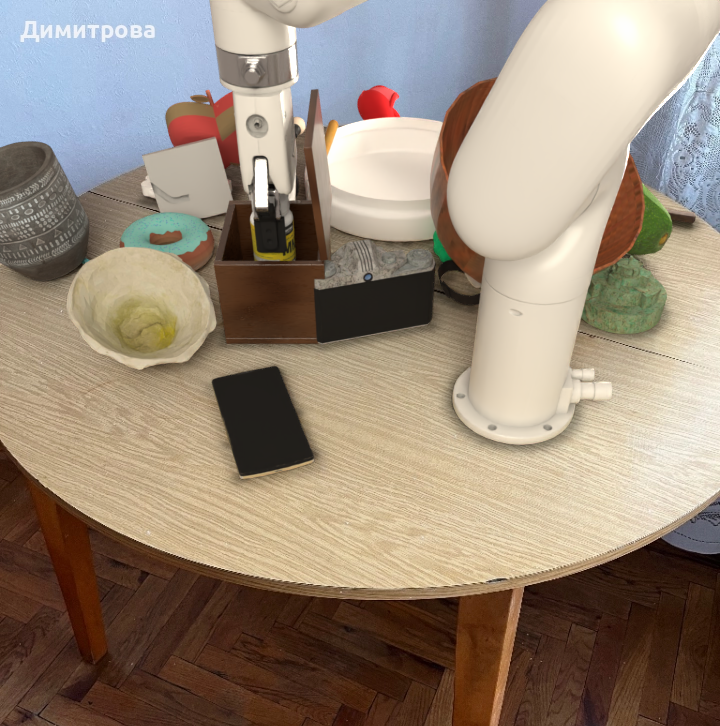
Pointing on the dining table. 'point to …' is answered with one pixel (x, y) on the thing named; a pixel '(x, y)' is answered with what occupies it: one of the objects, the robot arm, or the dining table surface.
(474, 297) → the watch
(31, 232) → the planter
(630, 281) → the decorative artifact
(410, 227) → the plate
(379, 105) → the cap
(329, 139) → the fork
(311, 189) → the lid
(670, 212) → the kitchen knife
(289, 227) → the supplement bottle
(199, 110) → the decorative object
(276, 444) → the smartphone
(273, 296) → the chest
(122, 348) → the bowl
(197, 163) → the grey square panel
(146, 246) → the donut
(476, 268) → the bowl
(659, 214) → the fruit
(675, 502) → the dining table surface
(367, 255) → the camera
